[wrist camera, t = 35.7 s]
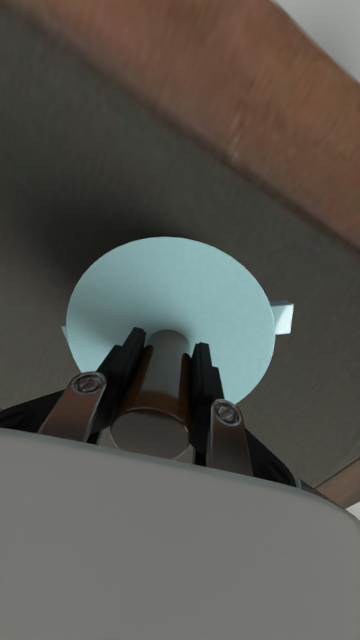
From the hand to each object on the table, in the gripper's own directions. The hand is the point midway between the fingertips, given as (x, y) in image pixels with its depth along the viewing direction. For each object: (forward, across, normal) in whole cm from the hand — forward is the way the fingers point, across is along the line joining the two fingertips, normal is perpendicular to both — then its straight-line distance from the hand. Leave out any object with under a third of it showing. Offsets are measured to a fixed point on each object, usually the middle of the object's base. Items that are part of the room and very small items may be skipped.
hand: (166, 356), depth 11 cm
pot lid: (+2, 0, 0) cm, 2 cm away
